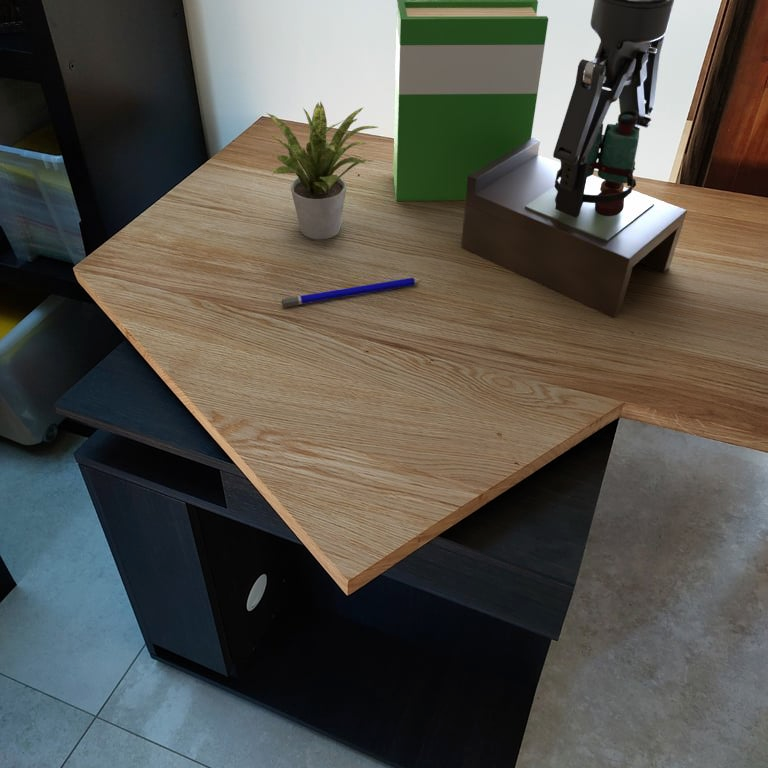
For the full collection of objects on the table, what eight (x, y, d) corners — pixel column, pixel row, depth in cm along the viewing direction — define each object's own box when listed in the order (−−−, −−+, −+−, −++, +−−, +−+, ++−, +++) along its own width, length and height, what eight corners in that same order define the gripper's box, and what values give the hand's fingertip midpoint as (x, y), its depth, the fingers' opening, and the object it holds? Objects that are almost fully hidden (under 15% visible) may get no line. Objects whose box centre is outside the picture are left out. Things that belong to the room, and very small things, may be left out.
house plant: (399, 247, 99) (403, 124, 88) (298, 273, 95) (288, 147, 84) (354, 196, 109) (352, 80, 98) (260, 217, 104) (247, 98, 93)
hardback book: (513, 174, 114) (536, -1, 98) (522, 199, 109) (548, 18, 93) (393, 175, 114) (397, -1, 97) (396, 201, 108) (400, 19, 92)
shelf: (669, 267, 97) (692, 194, 90) (613, 318, 89) (633, 243, 82) (522, 206, 108) (532, 137, 101) (461, 247, 100) (467, 175, 93)
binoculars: (561, 141, 82) (570, 95, 89) (547, 223, 90) (556, 175, 96) (648, 151, 81) (651, 103, 87) (627, 234, 88) (630, 184, 95)
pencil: (282, 308, 89) (282, 301, 89) (281, 304, 90) (280, 297, 89) (422, 285, 93) (422, 278, 92) (420, 281, 94) (420, 274, 93)
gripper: (655, -41, 84) (612, 151, 99) (538, 8, 71) (509, 220, 86) (722, -27, 80) (667, 170, 95) (611, 28, 68) (567, 245, 83)
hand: (592, 194), depth 91 cm, fingers closed on binoculars, 10 cm apart
